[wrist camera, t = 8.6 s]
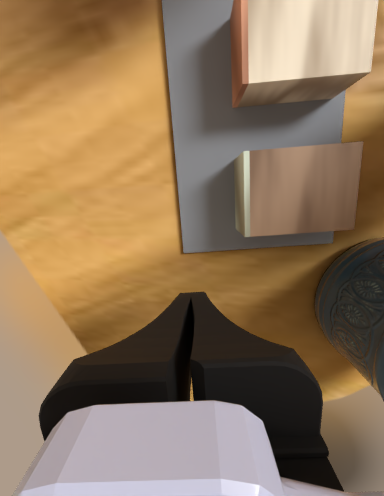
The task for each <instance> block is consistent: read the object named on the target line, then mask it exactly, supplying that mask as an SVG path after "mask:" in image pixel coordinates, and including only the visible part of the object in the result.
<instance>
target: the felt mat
mask: <svg viewBox="0 0 384 496" xmlns="http://www.w3.org/2000/svg"><path fill="white" fill-rule="evenodd" d="M232 5H233V0H162V10H163V22H164V33H165V45H166V56H167V68H168V79H169V91H170V102H171V114H172V125H173V137H174V148H175V160H176V171H177V183H178V194H179V206H180V217H181V229H182V240H183V252H184V253H193V252H208V251H223V250H238V249H253V248H268V247H283V246H297V245H312V244H327V243H333V235H334V231H327V232H312V233H298V234H283V235H269V236H254V237H244V236H243V235H242V234H241V233H240V232H239V231H238V230H236V222H235V185H234V159H235V158H237V157H238V156H239V155H240V154H241V153H242V152H243V151H252V150H264V149H276V148H288V147H300V146H312V145H324V144H336V143H341V138H342V126H343V114H344V102H345V90H344V91H343V92H341V93H340V94H338V95H337V96H335V97H334V98H333V99H324V100H313V101H302V102H291V103H280V104H269V105H258V106H247V107H236V108H232V73H231V36H230V16H231V11H232Z"/></svg>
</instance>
